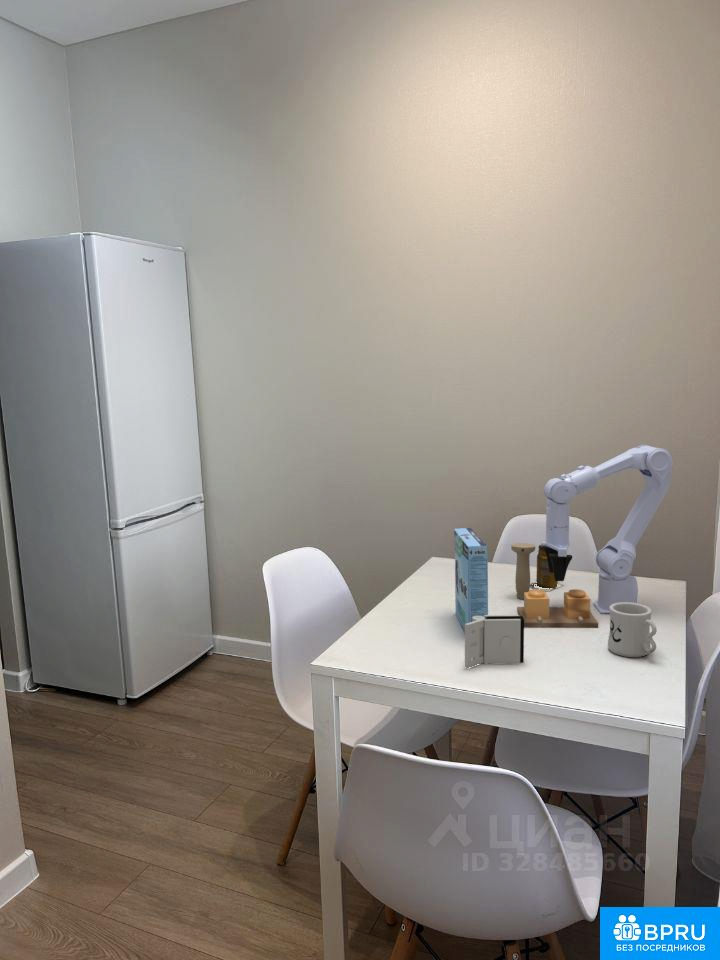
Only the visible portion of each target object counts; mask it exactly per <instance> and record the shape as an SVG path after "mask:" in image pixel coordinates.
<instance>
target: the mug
mask: <svg viewBox="0 0 720 960" xmlns="http://www.w3.org/2000/svg"><path fill="white" fill-rule="evenodd" d="M609 609H610V613H609V619H610V621H609V622H610V623H609V633H608V638H607V647H608V649H609V650H610V651H611V653H612V654H615V655H617V656H621V657H626V658H640V657H641V658H643V657H646V656H647V655H649V654H652V653H654V652H655V651H656V649H657V644H656V642H655V640H654V638H653V637H654V636H655V635H656V634H657V631H658V630H657V626H656V624H655V623H654V622H653V621H652V620H651V618H652V609H651V607H649V606H647V605H645V604H643V603H642V604H641V603H638V602H637V603H630V602H620V603H614V604H612V605H611V606H610V607H609ZM650 627H651V628H650ZM650 629H652V631H651V630H650ZM645 655H646V656H645ZM642 656H643V657H642Z"/></svg>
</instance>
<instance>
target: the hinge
mask: <svg viewBox="0 0 720 960" xmlns="http://www.w3.org/2000/svg"><path fill="white" fill-rule="evenodd" d="M524 652H525V627H524V618H523V616H519V614H488V615H484V617H483V616H473V617H472V622H470V623H467V624H465V631H464V668H465V667H466V668H469V667H472V666H475V665H477V664H481V663H520V662H524V661H525V659H524V658H525V657H524V656H525V654H524ZM524 663H525V662H524ZM520 664H521V663H520ZM481 665H482V664H481ZM475 667H476V666H475Z"/></svg>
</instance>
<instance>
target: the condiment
mask: <svg viewBox="0 0 720 960" xmlns="http://www.w3.org/2000/svg"><path fill="white" fill-rule="evenodd" d="M537 549H538V551H537V555H536V582H537V583H536V582H534V583H530V588H531V587H533V588H532V589H534V584H537V586H539V587H542V588H549V589H547V590H545V589H540V590H543V591H544V592H550V591H553V590H554V589H550V588H556V587H557V584H560V585H563V584H561V583H559V581H555V578H554V573H550V571H549V567H548V561H547V556H546V553H545V551H544V548H543V545H542V544H539V546H538V548H537ZM532 584H533V585H532ZM556 589H557V588H556ZM537 590H538V588H537Z"/></svg>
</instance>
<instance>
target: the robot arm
mask: <svg viewBox="0 0 720 960" xmlns="http://www.w3.org/2000/svg"><path fill="white" fill-rule="evenodd" d="M672 458H673V457H672V456H671V454H670V452H669V451H668V450H666V449H665V448H663V447H662V448H661V447H660V448H659V447H655V446H651V445H649V444H639V445H638V446H636V447H633V448H630V449H628V450H626V451H625V452H623V453H621V454H619V455H617V456H614V457H612V458H610V459H609V460H607V461H605V462H602V463H600V464H599V465H597V466H594V467H592V466H590V465H586V466H584V465H580V466H578V467H577V469H576V470H574V471H572V472H570V473H569V472H568V473H567V474H565V473H563V474H561V475H560V478H558V477H554V478H551V479H549V480H548V481H547V483H545V486H544V488H543V490H542V491H543V493H544V494H543V495H544V496H545V497H546V511H545V513H546V514H545V515H546V516H545V518H546V519H545V520H546V521H545V523H546V524H545V540H543V541H540V545H543V548H544V551H545V553H546V556H547V561H548V567H549V571H550V573H554V578H555V581H558V582H564V581H565V579H566V574H567V571H568V566H569V565H570V563H571V561H572V560H573V555H572V554H568V551H567V550H568V549H569V547H570V538H569V537H570V501H572V499H573V498H574V497H575V496H578V495H579V494H583V493H584V492H587V491H588V490H590V489H593V488H595V487H597V486H598V485H599V482H600V481H601V480H602V479H604V478H607V477H609V476H612V475H615V474H618V473H620V472H623V471H625V470H628V469H636V470H639V472H640V473H641V476H642V478H643V480H644V484H645V485H644V487H643V489H642V490H641V492H640V494H639V496H638V497H637V499H636V500H635V503H634V504H633V507H632V508H631V510H630V511H629V513H628V515H627V517H626V519H625V520H624V522H623V524H622V525H621V527H620V528H619V530H618V532H617V534H616V536H615V537H613V538H612V539H609V541H607V543H606V544H605V546H604V547H602V548H601V549H600V550H598V552H597V553H596V555H595V562H596V565H597V566H598V567H599V572H598V594H597V595H598V597H597V600H598V601H594V602H593V605H594V607H595V608H596V609H597V610H598V612H599V613H600V614H610V609H609V607H610V606H611V605H612V604H614V603H620V602H630V603H637V604H638V595H639V593H638V592H639V587H638V580H637V578H636V576H634V575H631V574H632V571H633V565H634V561H635V559H636V557H637V554H636V546H637V544H638V543H639V541H640V539H641V538H642V536H643V534H644V533H645V531H646V529H647V528H648V525H649V524H650V522H651V521H652V519H653V517H654V515H655V514H656V512H657V510H658V509H659V507H660V505H661V503H662V502H663V500H664V498H665V496H666V494H667V493H668V492H669V489H670V487H671V475H672V468H673V467H674V461H673V459H672Z"/></svg>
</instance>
